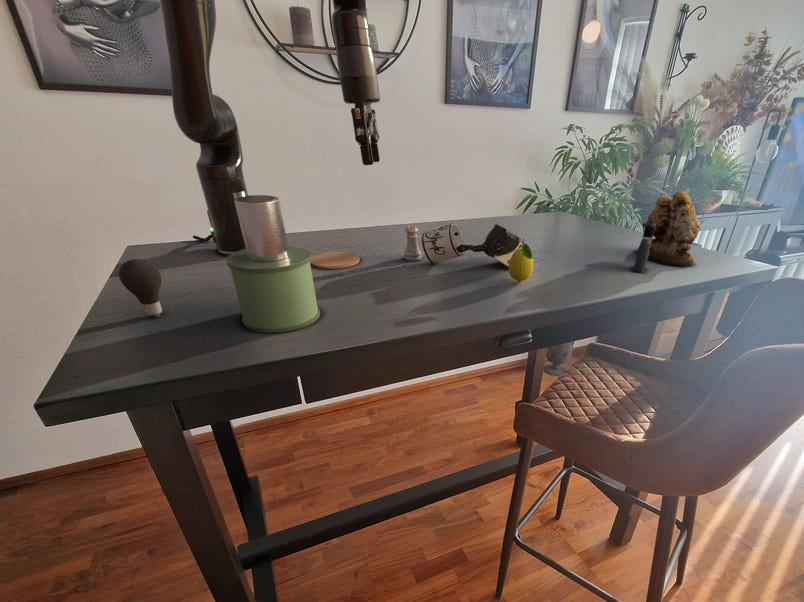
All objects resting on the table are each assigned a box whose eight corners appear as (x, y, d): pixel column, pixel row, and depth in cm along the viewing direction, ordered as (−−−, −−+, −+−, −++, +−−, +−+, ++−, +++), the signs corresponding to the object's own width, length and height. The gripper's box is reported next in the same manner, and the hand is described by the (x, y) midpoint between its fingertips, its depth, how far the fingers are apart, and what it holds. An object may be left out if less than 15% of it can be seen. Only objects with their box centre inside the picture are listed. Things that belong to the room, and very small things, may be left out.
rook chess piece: (423, 256, 113) (422, 224, 109) (419, 262, 110) (418, 228, 105) (406, 255, 114) (404, 223, 109) (402, 260, 110) (400, 227, 106)
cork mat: (297, 262, 105) (296, 260, 105) (334, 251, 114) (333, 248, 114) (334, 272, 101) (334, 269, 100) (369, 259, 110) (369, 257, 109)
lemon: (528, 289, 96) (533, 243, 91) (503, 285, 98) (506, 239, 93) (536, 280, 102) (541, 236, 96) (511, 276, 103) (515, 232, 98)
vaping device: (645, 267, 113) (658, 219, 107) (643, 273, 109) (655, 223, 103) (635, 266, 114) (647, 218, 108) (632, 271, 110) (644, 222, 104)
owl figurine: (624, 250, 127) (638, 186, 118) (654, 246, 132) (669, 184, 122) (672, 269, 114) (692, 198, 104) (703, 264, 118) (725, 196, 109)
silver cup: (239, 257, 72) (224, 198, 68) (272, 248, 77) (260, 193, 72) (266, 264, 70) (252, 204, 65) (298, 255, 75) (287, 198, 70)
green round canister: (226, 320, 77) (208, 258, 71) (286, 297, 87) (275, 241, 81) (277, 339, 72) (262, 274, 66) (335, 313, 82) (326, 254, 76)
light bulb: (147, 309, 80) (125, 254, 74) (180, 309, 80) (161, 254, 75) (129, 322, 75) (104, 264, 70) (164, 322, 76) (142, 265, 70)
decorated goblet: (421, 270, 105) (419, 226, 99) (424, 257, 113) (423, 217, 108) (526, 273, 106) (531, 230, 100) (522, 260, 114) (525, 220, 109)
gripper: (347, 79, 96) (361, 162, 105) (331, 72, 84) (348, 167, 92) (382, 77, 96) (392, 160, 105) (370, 70, 84) (383, 165, 92)
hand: (371, 163), depth 99 cm, fingers open, 8 cm apart
